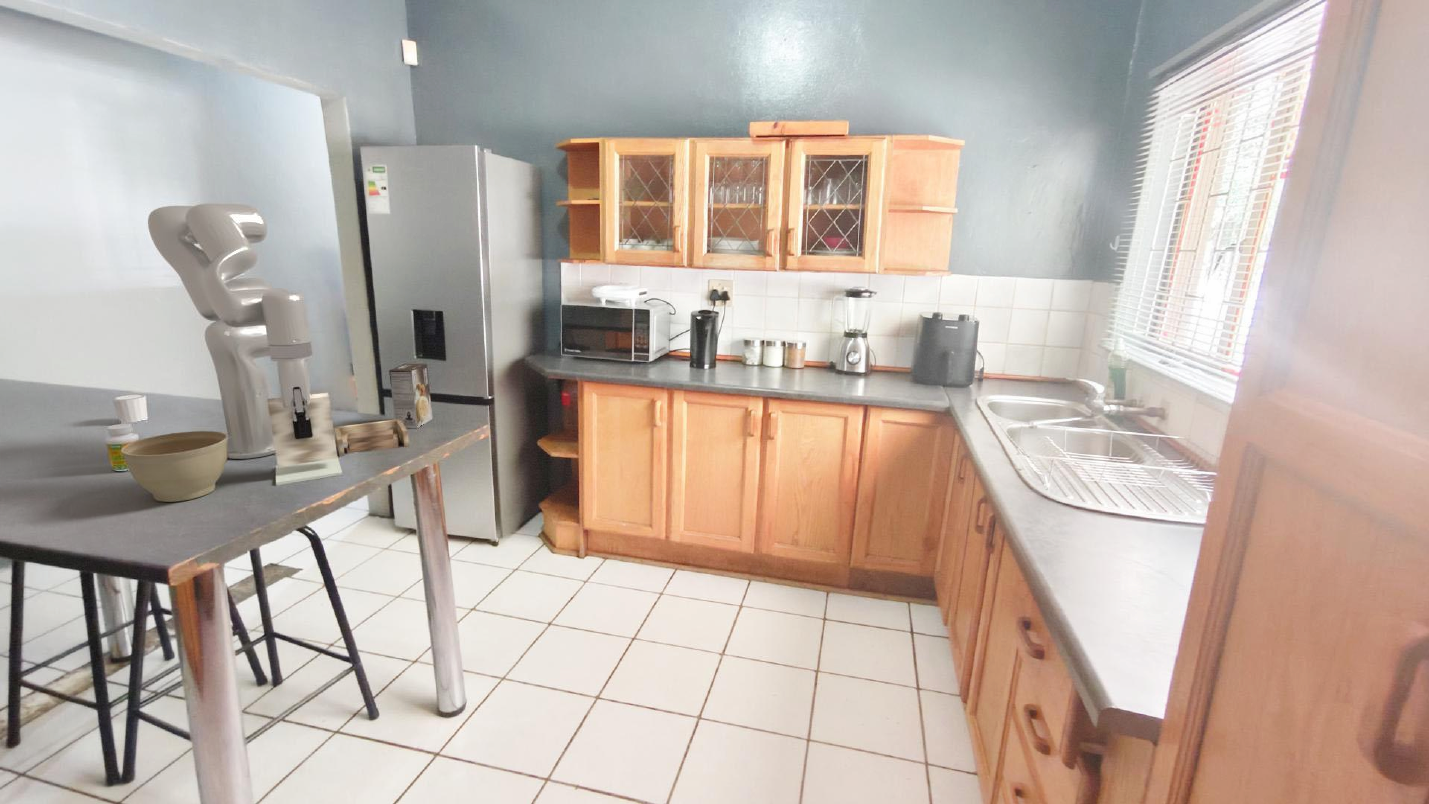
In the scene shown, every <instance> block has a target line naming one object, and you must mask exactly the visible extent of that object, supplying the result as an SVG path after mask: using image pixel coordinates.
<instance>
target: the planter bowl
mask: <svg viewBox="0 0 1429 804" xmlns="http://www.w3.org/2000/svg"><path fill="white" fill-rule="evenodd" d="M227 442H228V437H227V433H224V432H220V431H214V430H212V431H211V430H196V431H194V430H193V431H182V432H174V433H167V434H166V433H164V434H160V435H155V436H151V437H146V438H143V439H140V440H139V441H136V442H133V443H130V444H128V445H126V446H125V447H123V448H122V450H121V452H122V455H123V457H124V458H125V461H126V465H127V467H128V469H129V471H128V472H129V473H130V474H131V476H132V478H133V479H134V480H135V482H137V483H138V484H139V486H141V487H142V489H144V490H145V491H147V492H148V493H150V494H152V497H153V499H154V500H156V501H157V502H163V503H168V502H169V503H171V502H172V503H173V502H174V503H175V502H183V501H188V500H193V499H196V498H200V497H203V496H205V495H208V494H210V493H211V492H213V491H214V490H215V489H216V482H217V481H218V480H219V479H220V477H221V475H222V473H223V471H224V470H225V467H226V464H227V460H228V458H227V454H228V448H227Z"/></svg>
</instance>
